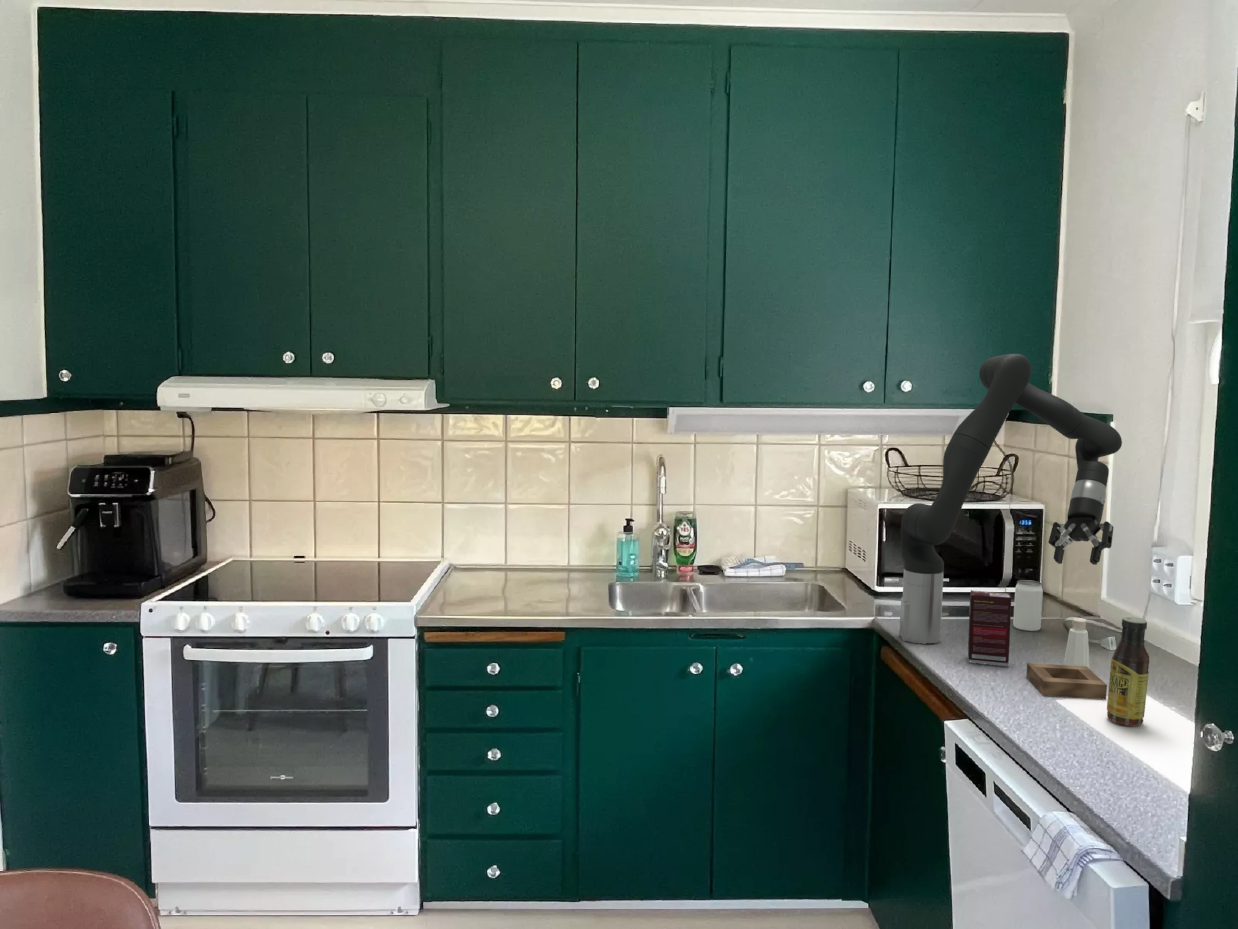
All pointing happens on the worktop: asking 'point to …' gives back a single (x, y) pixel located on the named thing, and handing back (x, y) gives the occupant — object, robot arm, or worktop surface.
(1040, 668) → the socket block
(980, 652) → the supplement box
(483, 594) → the worktop surface
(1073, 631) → the pepper shaker
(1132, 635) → the sauce bottle
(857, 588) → the worktop surface
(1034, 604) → the can
